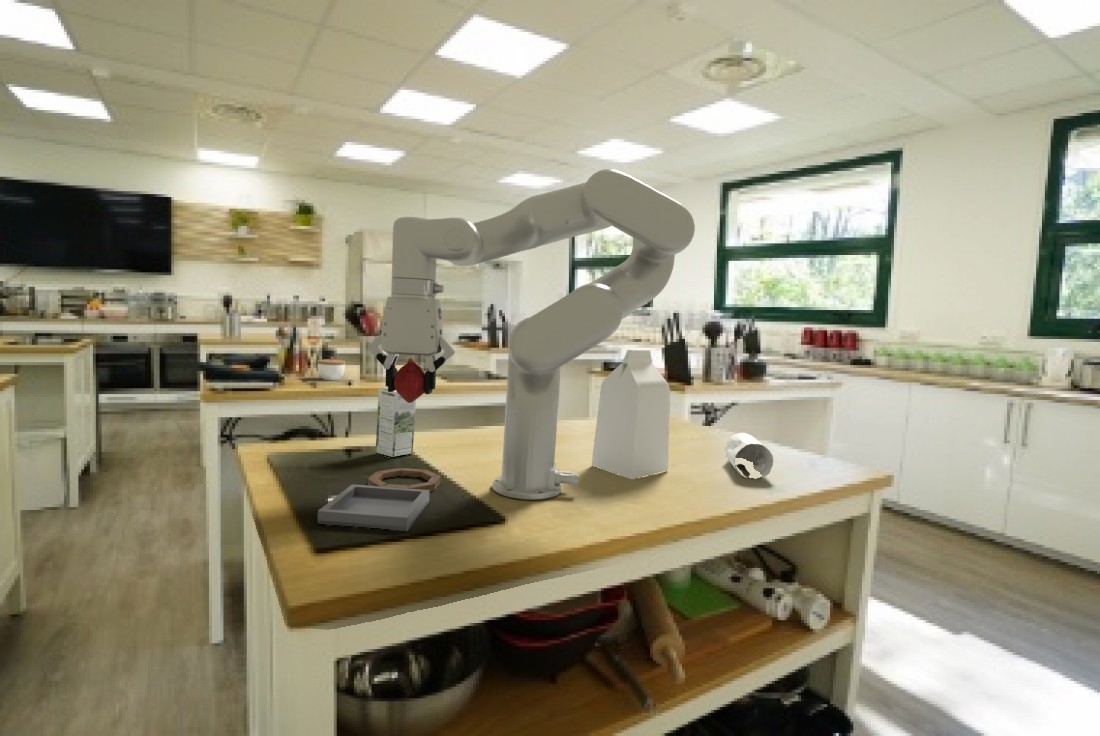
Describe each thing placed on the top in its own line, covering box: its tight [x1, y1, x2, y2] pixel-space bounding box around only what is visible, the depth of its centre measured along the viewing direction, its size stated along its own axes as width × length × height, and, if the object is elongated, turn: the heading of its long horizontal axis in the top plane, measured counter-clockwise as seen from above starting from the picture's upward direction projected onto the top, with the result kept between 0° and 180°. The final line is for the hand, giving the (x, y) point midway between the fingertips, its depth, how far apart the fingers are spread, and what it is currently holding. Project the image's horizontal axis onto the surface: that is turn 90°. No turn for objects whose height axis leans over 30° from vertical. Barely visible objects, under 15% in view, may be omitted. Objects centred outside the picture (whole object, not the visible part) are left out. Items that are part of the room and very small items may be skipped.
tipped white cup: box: [724, 432, 774, 478], centre depth 131 cm, size 8×19×8 cm, turn 173°
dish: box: [316, 483, 431, 532], centre depth 88 cm, size 13×13×2 cm
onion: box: [394, 357, 425, 403], centre depth 102 cm, size 6×6×8 cm
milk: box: [591, 349, 671, 480], centre depth 123 cm, size 12×12×26 cm
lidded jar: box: [317, 356, 346, 381], centre depth 234 cm, size 11×11×9 cm
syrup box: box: [375, 387, 417, 457], centre depth 123 cm, size 6×6×14 cm
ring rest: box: [367, 467, 442, 492], centre depth 103 cm, size 12×12×1 cm
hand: (410, 391), depth 102 cm, fingers closed on onion, 5 cm apart
